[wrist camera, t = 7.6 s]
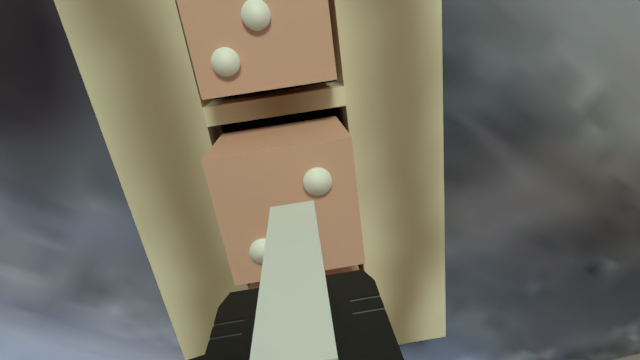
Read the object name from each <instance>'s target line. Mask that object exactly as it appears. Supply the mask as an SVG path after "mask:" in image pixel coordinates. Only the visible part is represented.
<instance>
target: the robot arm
mask: <svg viewBox="0 0 640 360" xmlns="http://www.w3.org/2000/svg"><path fill="white" fill-rule="evenodd" d="M189 360H404V359H403V356H402V353H401V350H400V348H399V345H398V342H397V340H396V337H395V334H394V331H393V329H392V326H391V323H390V321H389V318H388V315H387V312H386V310H385V308H384V304H383V302H382V299H381V297H380V293H379V291H378V288H377V285H376V282H375V280H374V279H373V278H372V277H371V276H369V275H368V274H367V273H366V272H365V271H364V270H363V269H361V270H355V271H349V272H343V273H337V274H331V275H325V269H324V263H323V256H322V250H321V243H320V237H319V231H318V224H317V218H316V212H315V205H314V200H312V201H306V202H300V203H293V204H287V205H281V206H274V207H270V212H269V220H268V227H267V234H266V242H265V249H264V257H263V264H262V271H261V279H260V286H259V288H254V289H248V290H242V291H236V292H230V293H229V294H228V296H227V297H226V298H225V299H224V301H223V302H222V303H221V304H220V306H219V307H218V310H217V313H216V317H215V320H214V327H212V331H211V334H210V341H208V345H207V348H206V352H205V355H201V356H198V357H195V358H192V359H189Z"/></svg>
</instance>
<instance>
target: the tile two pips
mask: <svg viewBox="0 0 640 360" xmlns="http://www.w3.org/2000/svg"><path fill="white" fill-rule="evenodd" d="M201 162H202V166H203V169H204V173H205V177H206V180H207V184H208V188H209V192H210V195H211V199H212V203H213V206H214V210H215V214H216V217H217V221H218V225H219V228H220V232H221V236H222V239H223V243H224V247H225V251H226V254H227V258H228V262H229V265H230V269H231V273H232V276H233V280H234V284H235V286H236V285H242V284H248V283H254V282H260V279H261V271H262V264H263V257H264V249H265V242H266V234H267V227H268V220H269V212H270V207H274V206H281V205H287V204H293V203H300V202H306V201H312V200H314V205H315V212H316V218H317V224H318V231H319V237H320V243H321V250H322V256H323V263H324V269H325V270H330V269H336V268H342V267H348V266H353V265H359V264H365V256H364V247H363V238H362V228H361V219H360V210H359V201H358V191H357V182H356V173H355V163H354V154H353V145H352V136H351V135H350V134H349V133H348V131H347V130H346V129H345V127H344V126H343V125H342V123H341V122H340V121H339V120H338V118H337V117H336V116H332V117H326V118H319V119H313V120H306V121H300V122H293V123H287V124H280V125H274V126H267V127H261V128H254V129H248V130H242V131H235V132H229V133H222V134H221V136H220V137H219V138H218V139H217V141H216V142H215V143H214V145H213V146H212V147H211V148H210V150H209V151H208V152H207V153H206V155H205V156H204V157H203V158H202V160H201Z"/></svg>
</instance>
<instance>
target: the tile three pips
mask: <svg viewBox="0 0 640 360" xmlns="http://www.w3.org/2000/svg"><path fill="white" fill-rule="evenodd" d="M177 4H178V8H179V12H180V16H181V20H182V24H183V28H184V32H185V36H186V40H187V44H188V48H189V51H190V55H191V59H192V63H193V67H194V71H195V75H196V79H197V83H198V87H199V91H200V95H201V99H202V100H205V99H212V98H219V97H225V96H232V95H238V94H245V93H252V92H258V91H265V90H272V89H278V88H285V87H291V86H298V85H305V84H311V83H318V82H325V81H331V80H337V73H336V65H335V56H334V47H333V39H332V30H331V21H330V13H329V4H328V0H177Z"/></svg>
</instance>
